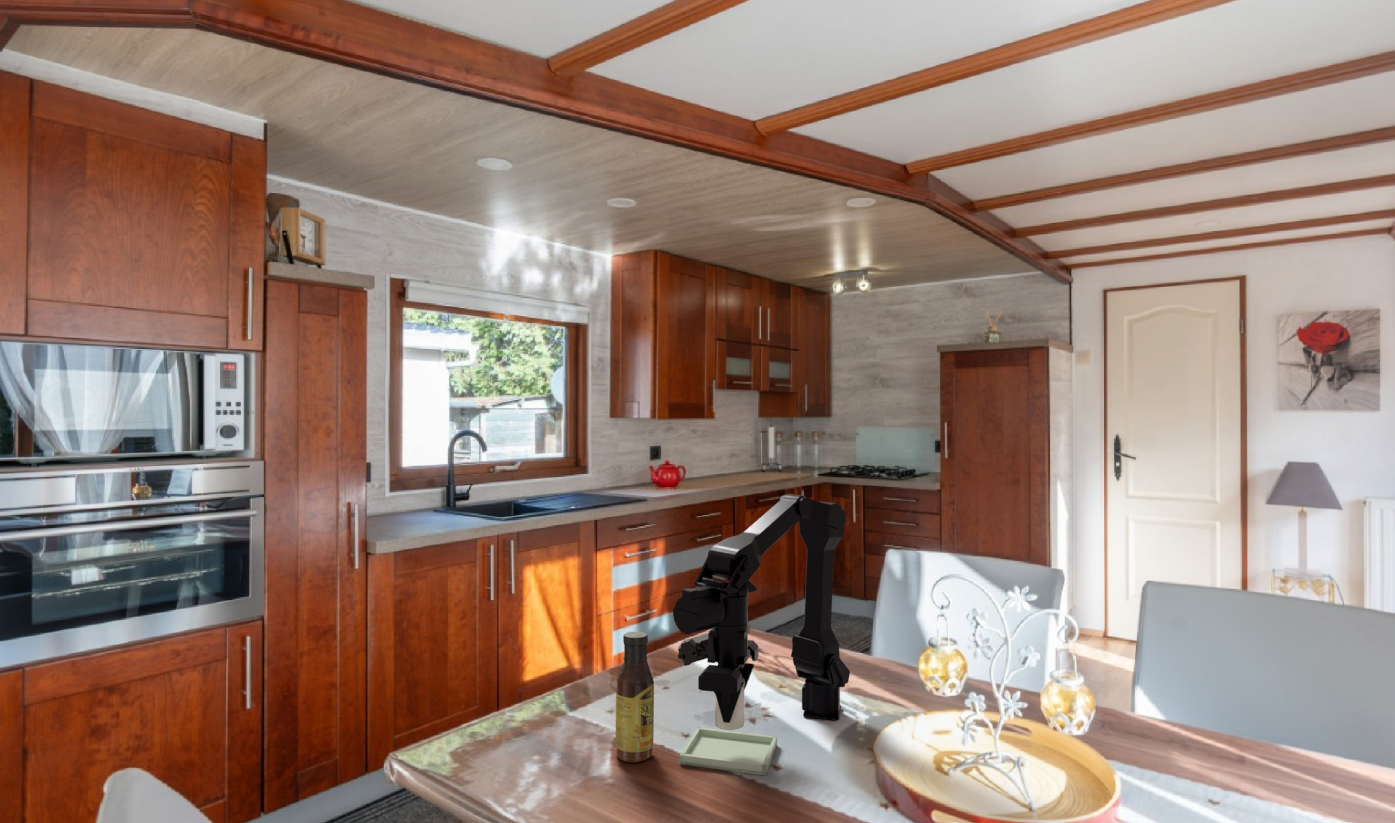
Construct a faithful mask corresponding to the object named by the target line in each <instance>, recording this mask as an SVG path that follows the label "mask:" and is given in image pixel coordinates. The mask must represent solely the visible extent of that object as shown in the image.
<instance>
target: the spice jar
mask: <svg viewBox="0 0 1395 823" xmlns="http://www.w3.org/2000/svg"><path fill="white" fill-rule="evenodd" d="M742 682H744V685H743V688H742V691H741V694H740V696H739V699H738V702H737V705H736V707H735V710H734V713H733V716H732V718H731V721H730V723H725V722H723V719H722V716H721V712H720V708H719V705H718V701H717V698H716V695H715V694H714V702H715V703H714V724H715V726H716V727H717V728H718V729H719V730H725V731H735V730H739V729H742V728H743V727H744V726H745V690H744V686H745V679H744V678H743V677H742Z"/></svg>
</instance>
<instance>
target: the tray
mask: <svg viewBox="0 0 1395 823" xmlns="http://www.w3.org/2000/svg"><path fill="white" fill-rule="evenodd" d="M777 747H778V736H774V735H765V734H756V733H750V732H740V731H739V732H738V731H734V730H724V729H714V728H707V727H698V726H697V727H696V729H695V730H694V732H693V734H692V735H691V736H690V738H689V740H688V741H687V743H686V745H685V746H684V747H683V749H682V750H681V752H680V754H679V765H683V766H690V767H698V768H706V769H713V770H721V771H728V772H735V773H741V774H742V773H743V774H750V775H751V774H752V775H757V776H765V777H766V776H767V773H768V770H769V768H770V766H771V763H772V759H773V757H774V754H775V752H776V749H777Z"/></svg>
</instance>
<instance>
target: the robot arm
mask: <svg viewBox="0 0 1395 823" xmlns="http://www.w3.org/2000/svg"><path fill="white" fill-rule="evenodd" d="M846 519H847V518H846V512H845V510H844V509H843V508H842V506H841V505H840V504H839V503H835V502H827V501H826V502H825V501H819V500H814V499H812V498H809V497H806V496H805V495H803V494H802V495H800V494H792V493H786V494H783V495H782V496H780V498H779V499H778V502H777V503H775V504H774V505H773V506H772V507H771V508H770V509H768V510H767V511H766V512H765V513H764V514H763V515H761V517H759V518H757V520H756V521H755V522H753V524H751V525H750V526H749V527H748V528H747V529H746V530H744V531H743V532H741V533H739V534H737V535H734V536H729V537H726V538H725V539H722V540H721V541H719V542H717V543H716V544H714V545H713V546H712V547H711V548H710V549H709V551H708V552H707V557H706V559H705V561H704V563H703V565H702V567H701V569H700V571H699V573H698V574H697V575H698V576H697V577H696V579H695V581H694V584H693V585H694V587H693V588H689V587H688V588H684V589H683V588H682V591H681V596H682V597H680V598H678V599H677V600H676V602H675V604H674V607H673V609H672V618H673V621H674V623H675V626H676V628H677V629H678V630H679V631H680V632H681V634H684V635H692V634H696V633H699V632H704V631H706V630H709V631H708V632H707V633H705V634H700V635H697V636H693V637H691V638H687V639H685V640H683V641H682V642H681V643H680V645H679V646H678V647H677V650H678V654H677V659H679V660H681V661H682V663H683V666H690V665H691V664H694V663H697V662H699V661H704V660H706V659H707V660H706V662H707V663H709V664H708V666H707V667H706V668H704V669H703V670H702V672H701V673H700V674H699V676H698V677H697V678H698V682H697V684H698V685H697V687H698V690H699V691H703V692H704V691H705V692H713V693H714V696H715V695H716V698H717V701H718V705H719V708H720V712H721V716H722V719H723V722H725V723H730V721H731V718H732V716H733V713H734V710H735V707H736V705H737V702H738V699H739V696H740V694H741V691H742V688H743V685H744V682H742V677H743V678H744V679H745V686H744V691H745V689H746V688H747V685H748V682H749V680H750V678H751V675H752V672H753V670H754V668H755V664H754V663H749V662H747V661H749V660H748V659H749V658H751V661H753V662H756V661H757V660H758V658H759V645H758V644H757V643H756V642H755V641H754V640H751V639H748V635H749V633H750V632H751V624H749V622H748V621H749V620H748V618H749V616H748V615H749V614H748V613H749V611H748V608H749V607H748V606H749V604H748V603H749V602H748V601H749V600H748V598H749V596H748V594H749V593H753V592H756V591H757V589H758V588H757V586H755V584H753V583H752V582H751V581H750V580H751V578H752V577H753V575H754V574H755V573H756V572H757V570H758V569H759V568H760V566H761V562H762V557H763V555H764V554H765V553H766V552H767V551H768V550H769V549H770V548H771V547H772V546H774V544H775V543H777V542H778V541H779V540H780V539H781V538H782V537H783V536H784V535H785V534H786V533H787V532H788V531H790V529H792V528H793V527H794V526H795V525H796V524H797V523H798V528H799V535H800V536H801V539H802V541H803V543H804V545H805V547H806V569H805V590H804V591H805V592H804V593H805V597H804V619H803V621H804V622H803V627H802V628H801V629H800V631H799V633H798V634H796V635H795V634H794V635H793V636H792V639H791V640H792V641H791V643H792V645H791V646H792V647H791V648H792V649H791V654H790V657H791V658H792V662H793V663H792V664H793V666H794V668H795V672H796V676H797V678H802V679H804V684H803V685H802V688H801V709H802V711H803V715H802V716H803V717H804V718H810V719H819V720H828V721H829V720H830V721H839V720H840V717H841V716H840V715H841V711H842V705H841V688H845V686H846V684H848V683H849V680H850V675H851V671H850V669H849V668H848V667H847V666H846V664H845V663H844V662H843V660H842V659H841V657H840V655H841V654H840V644H839V641H838V638H837V637H836V635H835V633H834V631H833V629H832V612H833V610H832V609H833V585H834V582H833V581H834V564H835V562H834V561H835V559H834V557H835V549H836V548H837V547H838V545H839V543H840V542H841V540H842V539H843V537H844V533H845V524H846ZM714 578H715V579H714ZM718 579H719V580H718ZM722 580H724V581H722ZM727 581H728V582H727ZM715 663H717V665H715Z"/></svg>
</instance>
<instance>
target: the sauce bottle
mask: <svg viewBox="0 0 1395 823" xmlns="http://www.w3.org/2000/svg"><path fill="white" fill-rule="evenodd" d="M648 639H649V638H648V633H646V632H644V631H629V632H625V633H624V634H623V638H622V640H623V641H622V642H623V646H624V647H623V648H624V651H623V663H622V665H621V667H620V668H619V670H618V672H617V675H616V676H617V677H616V692H615V748H616V750H615V753H616V754H615V755H616V757H617V758H618V759H619V760H621V761H622V762H627V763H638V762H643V761H646V760H648V759H650V758H651V757H652V756H653V748H654V730H655V728H654V727H655V726H654V722H655V721H654V720H655V714H654V711H655V681H654V678H653V675H652V672H651V670H650V666H649V663H648V657H647V655H648V654H647V651H648V650H647V649H648V648H647V645H648V643H649V642H648V641H649V640H648Z"/></svg>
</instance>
